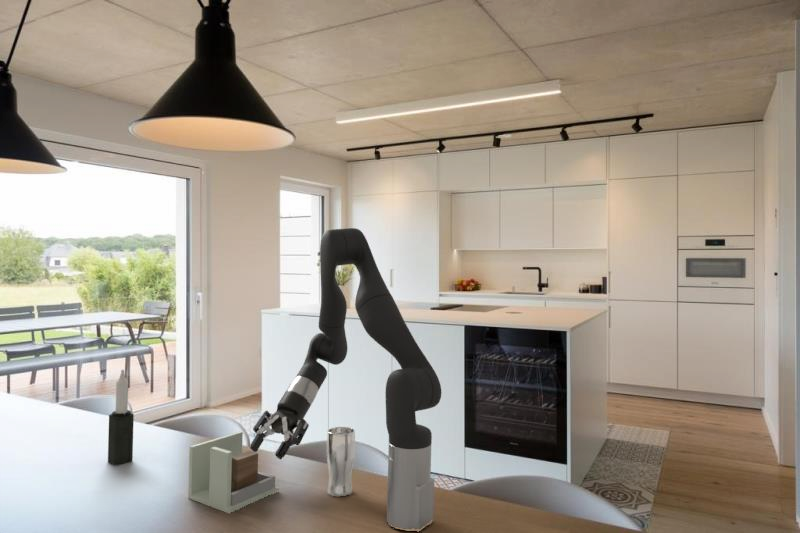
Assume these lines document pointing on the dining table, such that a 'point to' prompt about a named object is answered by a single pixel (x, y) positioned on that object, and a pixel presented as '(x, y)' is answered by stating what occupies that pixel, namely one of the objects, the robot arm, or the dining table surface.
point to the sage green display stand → (222, 475)
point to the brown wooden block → (244, 470)
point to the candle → (121, 426)
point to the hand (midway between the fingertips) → (265, 453)
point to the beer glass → (340, 460)
